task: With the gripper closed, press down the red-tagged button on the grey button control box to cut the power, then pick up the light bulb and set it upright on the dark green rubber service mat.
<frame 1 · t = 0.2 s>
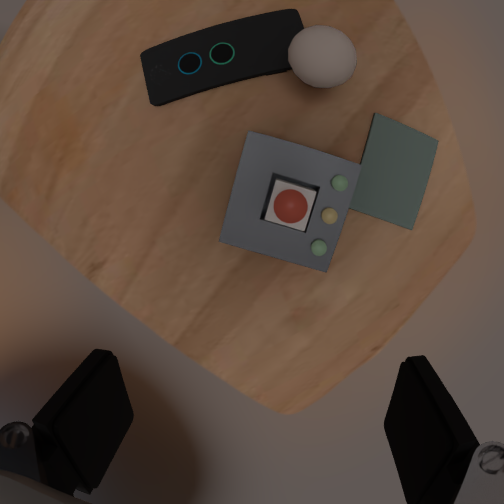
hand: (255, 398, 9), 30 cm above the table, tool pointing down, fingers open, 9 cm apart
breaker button: (290, 204, 31), point 6 cm above the table, slide at 0.0 cm
smart home device: (225, 56, 33), on the table
service mat: (394, 172, 35), on the table
grey button control box: (288, 197, 37), on the table
light bulb: (314, 76, 32), on the table
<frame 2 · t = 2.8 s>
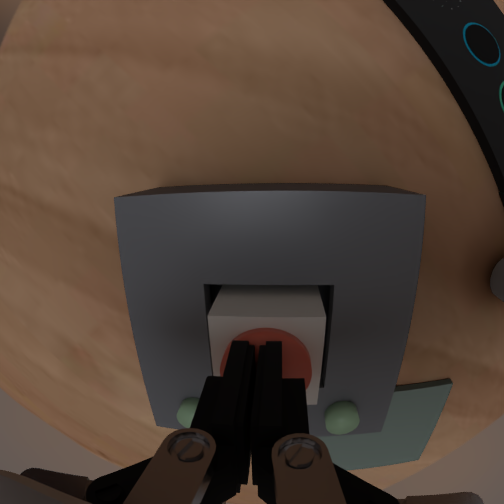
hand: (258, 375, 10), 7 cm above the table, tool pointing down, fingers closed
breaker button: (268, 348, 12), point 5 cm above the table, slide at 0.3 cm, touching gripper
smart home device: (501, 106, 14), on the table
service mat: (363, 431, 20), on the table
grey button control box: (272, 294, 17), on the table
light bulb: (497, 272, 16), on the table
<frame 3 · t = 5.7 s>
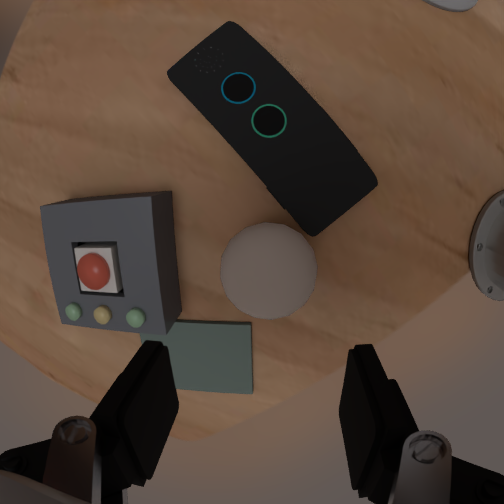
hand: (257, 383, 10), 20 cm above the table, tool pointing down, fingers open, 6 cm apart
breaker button: (101, 266, 26), point 4 cm above the table, slide at 1.7 cm
smart home device: (272, 123, 27), on the table
service mat: (196, 356, 33), on the table
grey button control box: (121, 253, 30), on the table
light bulb: (271, 242, 29), on the table
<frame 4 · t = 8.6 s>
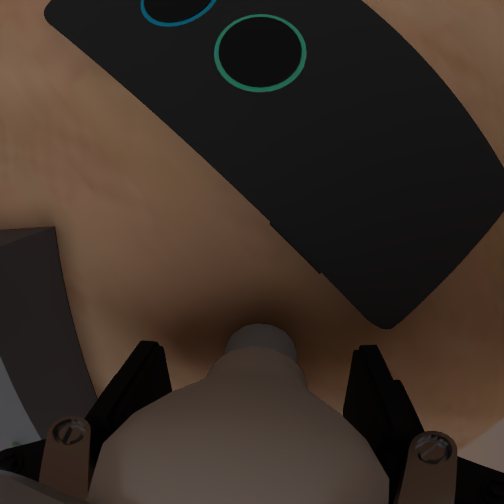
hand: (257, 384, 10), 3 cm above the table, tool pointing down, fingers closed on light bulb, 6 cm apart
smart home device: (268, 65, 10), on the table
grey button control box: (7, 330, 14), on the table
light bulb: (262, 341, 13), on the table, touching gripper
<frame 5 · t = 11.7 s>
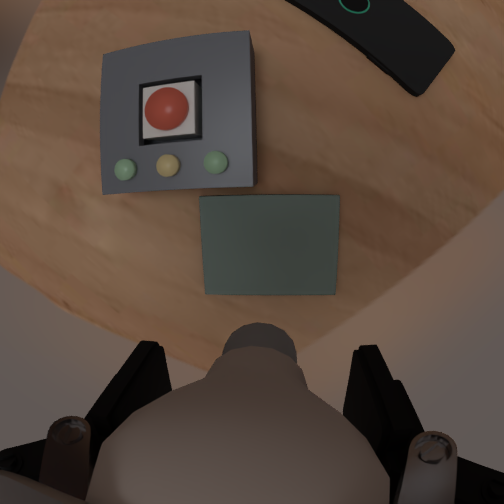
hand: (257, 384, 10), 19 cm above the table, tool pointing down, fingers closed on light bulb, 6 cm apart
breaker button: (172, 111, 22), point 4 cm above the table, slide at 1.7 cm
smart home device: (352, 8, 22), on the table
service mat: (269, 245, 28), on the table
grey button control box: (187, 118, 26), on the table
light bulb: (261, 341, 13), point 16 cm above the table, touching gripper
when the fingers open (4 cm above the table, at t = 14.8 s): light bulb drops 1 cm, resting on service mat.
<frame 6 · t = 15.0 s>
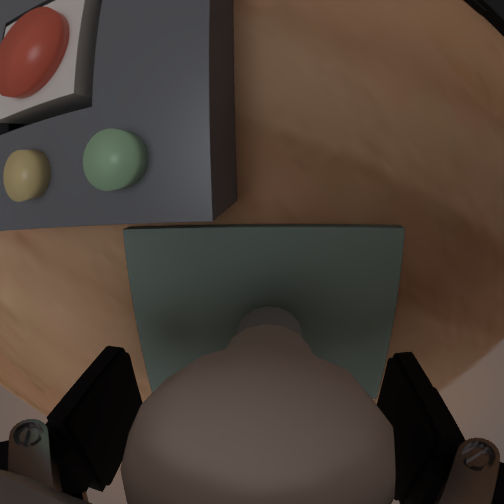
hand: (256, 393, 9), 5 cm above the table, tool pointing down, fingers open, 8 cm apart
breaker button: (53, 60, 8), point 4 cm above the table, slide at 1.7 cm
service mat: (263, 322, 14), on the table
grey button control box: (106, 81, 12), on the table
light bulb: (269, 324, 14), resting on service mat
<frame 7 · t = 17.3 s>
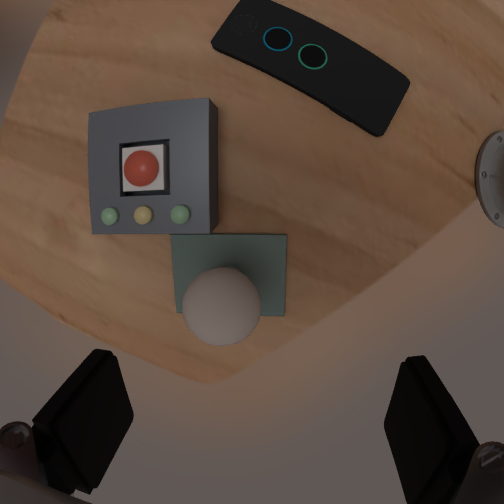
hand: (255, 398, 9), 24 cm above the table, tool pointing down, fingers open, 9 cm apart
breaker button: (147, 168, 27), point 4 cm above the table, slide at 1.7 cm
smart home device: (312, 61, 28), on the table
service mat: (228, 274, 34), on the table
grey button control box: (161, 167, 31), on the table
light bulb: (231, 275, 34), resting on service mat
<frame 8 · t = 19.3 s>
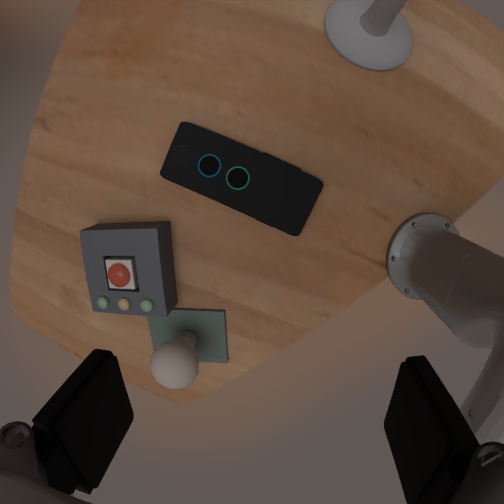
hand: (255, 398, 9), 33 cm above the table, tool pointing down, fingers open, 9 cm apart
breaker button: (123, 271, 41), point 4 cm above the table, slide at 1.7 cm
smart home device: (240, 176, 41), on the table
service mat: (188, 334, 47), on the table
grey button control box: (135, 262, 44), on the table
candlestick: (369, 31, 33), on the table
light bulb: (189, 335, 46), resting on service mat
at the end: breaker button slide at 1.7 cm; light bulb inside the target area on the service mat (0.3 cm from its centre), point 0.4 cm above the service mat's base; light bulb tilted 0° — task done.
